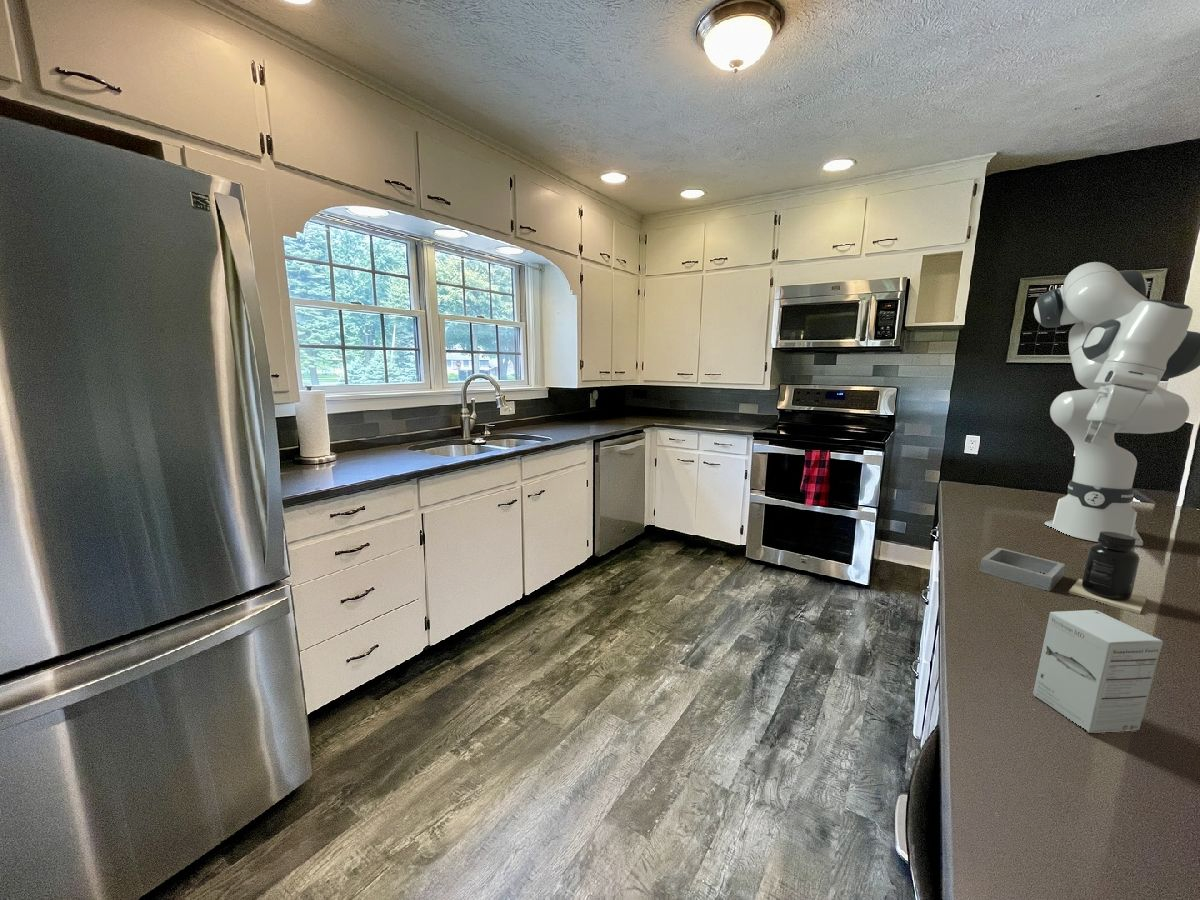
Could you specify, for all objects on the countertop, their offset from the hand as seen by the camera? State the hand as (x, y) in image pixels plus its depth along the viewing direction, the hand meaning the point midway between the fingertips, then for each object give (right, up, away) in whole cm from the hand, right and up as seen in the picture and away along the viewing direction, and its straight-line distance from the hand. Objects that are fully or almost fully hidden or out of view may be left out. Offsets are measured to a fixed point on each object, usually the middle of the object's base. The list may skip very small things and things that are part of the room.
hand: (1092, 443), depth 102 cm
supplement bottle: (-5, -30, -7) cm, 31 cm away
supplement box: (-42, -36, -39) cm, 68 cm away
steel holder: (-13, -28, +2) cm, 31 cm away
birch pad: (-5, -30, -8) cm, 32 cm away
